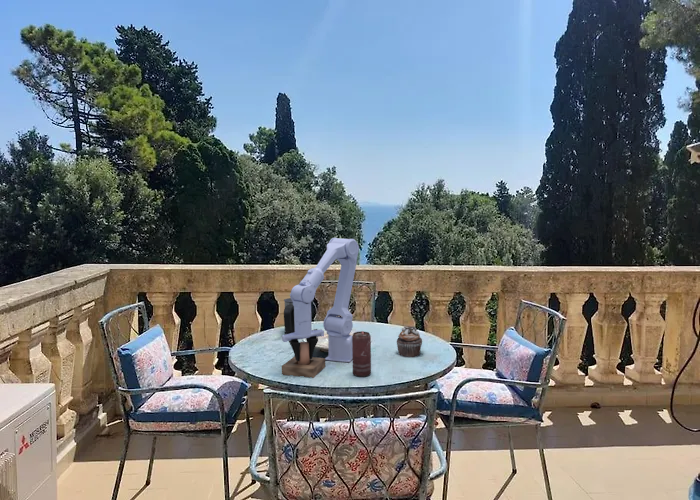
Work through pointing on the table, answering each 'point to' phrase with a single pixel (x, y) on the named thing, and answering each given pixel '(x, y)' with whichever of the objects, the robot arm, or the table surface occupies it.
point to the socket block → (303, 367)
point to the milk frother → (289, 316)
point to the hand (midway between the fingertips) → (303, 359)
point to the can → (361, 354)
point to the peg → (304, 354)
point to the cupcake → (409, 342)
